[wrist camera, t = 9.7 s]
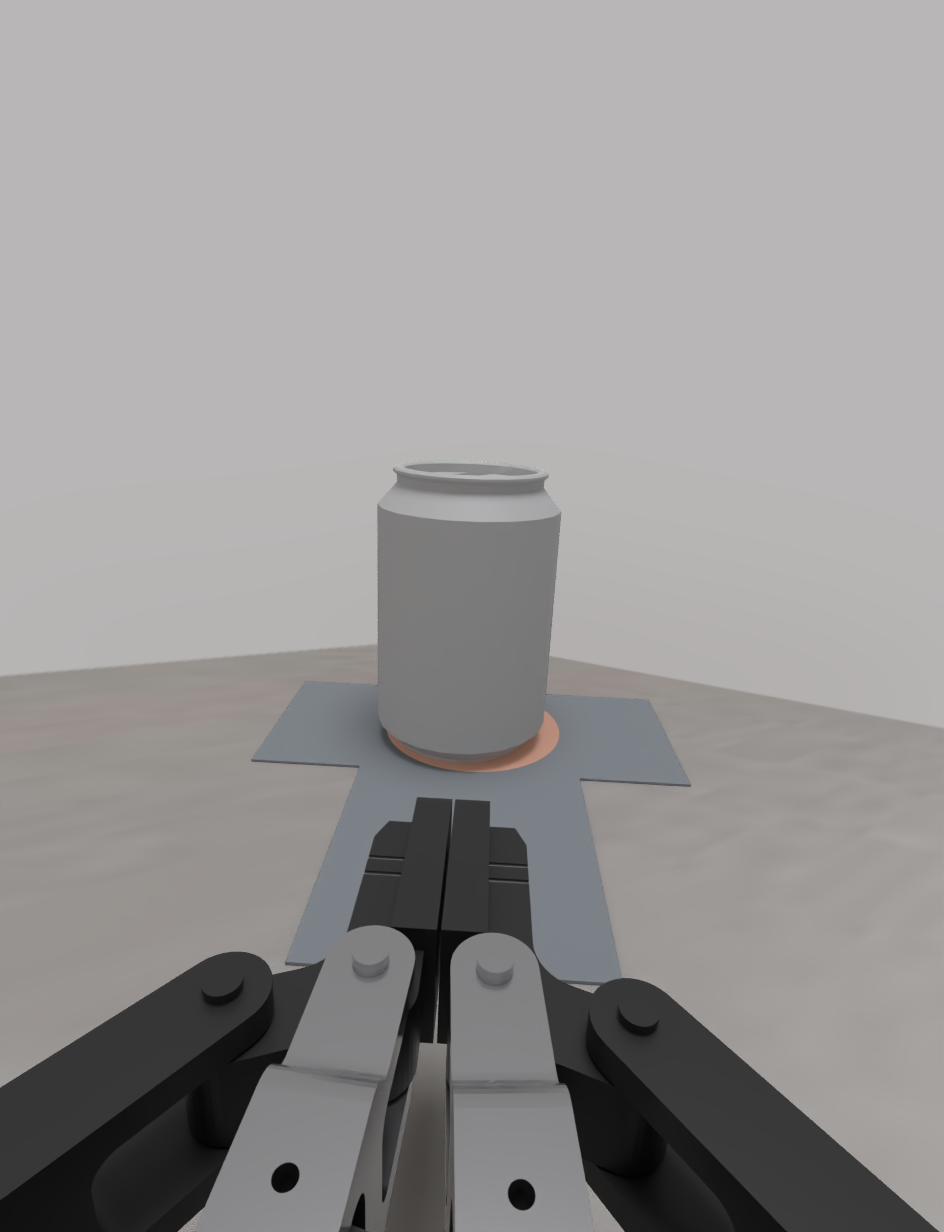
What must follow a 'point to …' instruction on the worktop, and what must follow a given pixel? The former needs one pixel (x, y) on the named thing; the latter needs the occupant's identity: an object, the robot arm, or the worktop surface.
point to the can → (465, 606)
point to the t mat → (514, 784)
